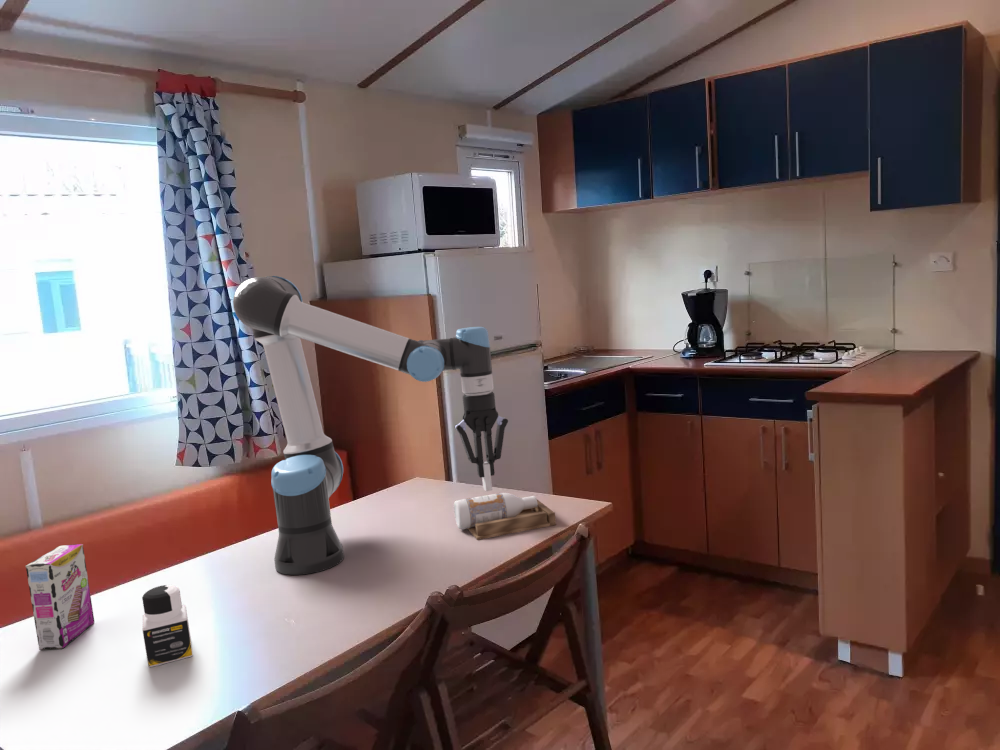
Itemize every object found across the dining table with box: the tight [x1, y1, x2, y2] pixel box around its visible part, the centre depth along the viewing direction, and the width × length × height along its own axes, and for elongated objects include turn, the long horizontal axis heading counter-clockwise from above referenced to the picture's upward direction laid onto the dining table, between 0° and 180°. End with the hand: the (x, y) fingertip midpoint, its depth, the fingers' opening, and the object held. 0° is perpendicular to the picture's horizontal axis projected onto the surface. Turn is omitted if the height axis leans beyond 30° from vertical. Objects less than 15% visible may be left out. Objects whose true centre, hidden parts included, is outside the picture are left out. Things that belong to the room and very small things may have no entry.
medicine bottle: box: [141, 584, 194, 668], centre depth 139 cm, size 7×7×12 cm
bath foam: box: [453, 492, 538, 530], centre depth 193 cm, size 7×7×20 cm
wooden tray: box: [466, 499, 557, 541], centre depth 193 cm, size 20×14×3 cm
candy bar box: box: [25, 543, 95, 651], centre depth 151 cm, size 11×5×16 cm, turn 178°
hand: (487, 489), depth 191 cm, fingers closed
